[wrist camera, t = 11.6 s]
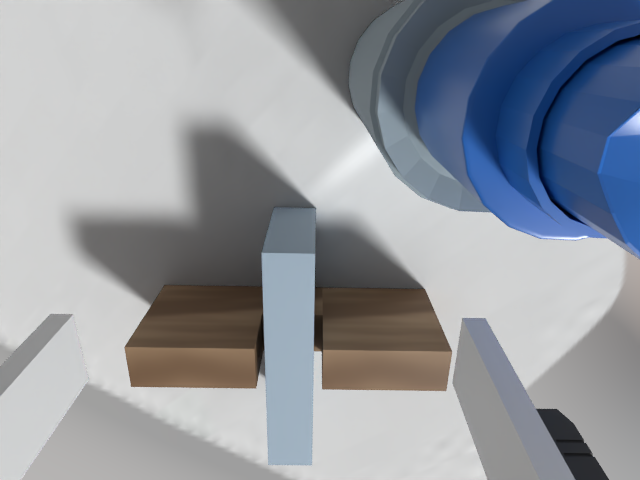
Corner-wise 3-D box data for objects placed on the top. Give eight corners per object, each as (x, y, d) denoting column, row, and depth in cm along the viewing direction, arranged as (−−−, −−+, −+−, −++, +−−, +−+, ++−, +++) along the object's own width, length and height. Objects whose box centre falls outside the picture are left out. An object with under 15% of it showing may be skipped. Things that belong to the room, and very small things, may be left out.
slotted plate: (274, 207, 33) (261, 252, 26) (315, 207, 34) (315, 253, 26) (277, 386, 40) (268, 464, 32) (313, 387, 40) (311, 465, 32)
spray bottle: (507, 18, 29) (1275, -106, 6) (461, 158, 32) (828, 441, 9) (367, -16, 28) (590, -314, 5) (334, 131, 31) (379, 364, 8)
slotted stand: (164, 285, 36) (124, 347, 28) (424, 289, 36) (452, 351, 29) (168, 318, 37) (131, 386, 30) (420, 322, 37) (446, 390, 30)
